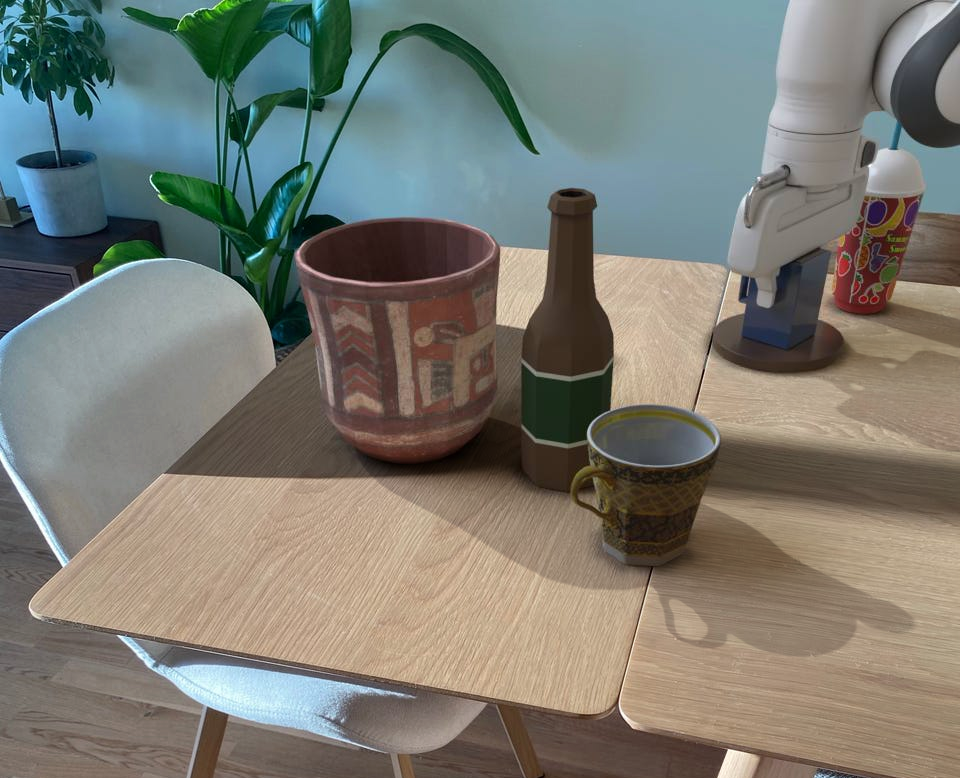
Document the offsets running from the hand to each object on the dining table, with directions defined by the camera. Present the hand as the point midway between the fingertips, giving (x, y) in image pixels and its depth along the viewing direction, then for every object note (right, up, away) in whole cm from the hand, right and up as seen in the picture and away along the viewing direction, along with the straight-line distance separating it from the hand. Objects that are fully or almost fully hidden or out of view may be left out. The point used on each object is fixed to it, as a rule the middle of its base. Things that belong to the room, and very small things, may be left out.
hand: (785, 295), depth 105 cm
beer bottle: (-25, -22, -16) cm, 37 cm away
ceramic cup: (-21, -30, -26) cm, 45 cm away
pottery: (-40, -17, -10) cm, 44 cm away
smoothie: (+13, +3, +12) cm, 17 cm away
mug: (-1, -3, +4) cm, 5 cm away
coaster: (0, -4, +4) cm, 6 cm away
